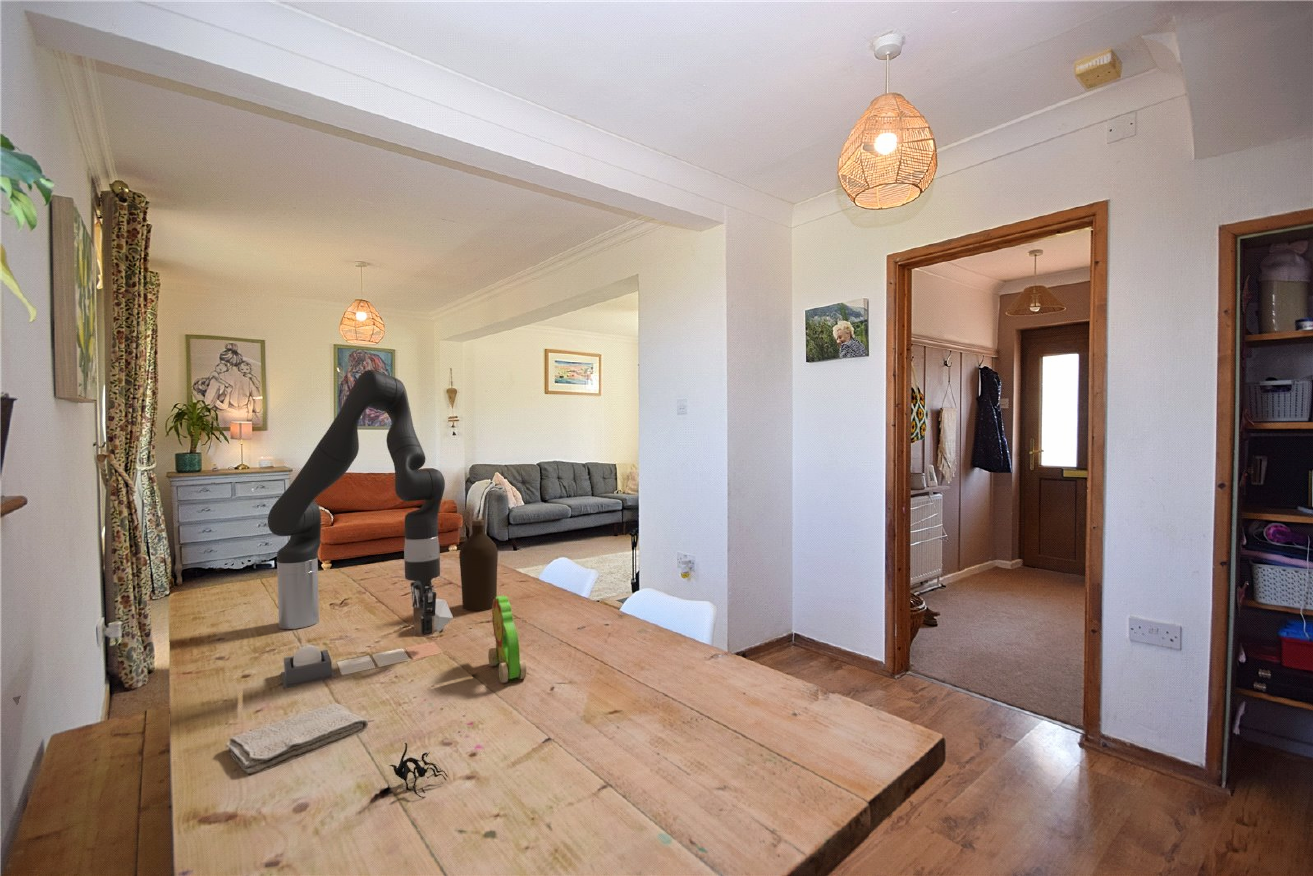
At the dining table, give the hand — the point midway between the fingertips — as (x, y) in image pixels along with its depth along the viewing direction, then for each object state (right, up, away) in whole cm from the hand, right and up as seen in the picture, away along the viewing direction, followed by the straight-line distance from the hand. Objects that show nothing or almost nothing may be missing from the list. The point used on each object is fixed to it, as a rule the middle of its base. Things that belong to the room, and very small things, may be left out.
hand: (424, 630), depth 136 cm
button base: (-19, -6, -13) cm, 24 cm away
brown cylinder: (0, -1, 0) cm, 1 cm away
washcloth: (-6, -7, -37) cm, 38 cm away
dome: (-19, -4, -13) cm, 23 cm away
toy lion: (+21, -5, -10) cm, 24 cm away
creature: (+19, -6, -50) cm, 54 cm away
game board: (-6, -5, -4) cm, 9 cm away
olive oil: (+2, -5, +36) cm, 36 cm away
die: (-4, -5, +16) cm, 17 cm away
